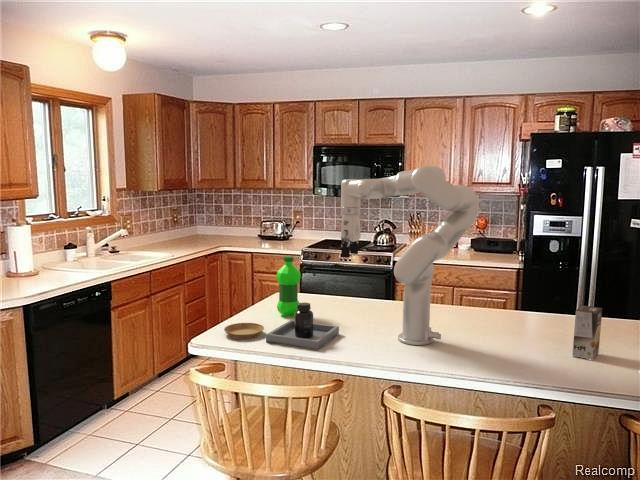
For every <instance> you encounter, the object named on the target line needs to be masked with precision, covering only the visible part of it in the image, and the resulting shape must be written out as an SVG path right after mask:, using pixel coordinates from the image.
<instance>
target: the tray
mask: <svg viewBox="0 0 640 480" xmlns="http://www.w3.org/2000/svg"><path fill="white" fill-rule="evenodd" d="M339 328H340V326H338V325H332V324H331V325H330V324H325V323H316V322H313V336H312V337H310V338H298V337H296V336H295V319H294V320H292V319H290V320H289V321H286V322H285V323H283V324H281V325H280V326H279V327H277V328H274V329H273V330H271V331H269V332H268V333H266V334H265V342H266V343H267V344H273V345H281V346H287V347H293V348H300V349H306V350H313V351H319V350H320V349H321V348H322V347H324V346H325V345H327V344H328V343H330V342H331V341H332V340H333V339H334V338H336V337H337V336H338V335H339V334H340V333H339V332H340V331H339V330H340V329H339Z"/></svg>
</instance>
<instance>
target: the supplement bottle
mask: <svg viewBox="0 0 640 480" xmlns="http://www.w3.org/2000/svg"><path fill="white" fill-rule="evenodd" d="M297 309H298V310H297V311H296V312H295V315H294V321H295V336H296V337H298V338H310V337H312V336H313V323H314V312H313V311H312V310H311V303H310V302H299V303H298V304H297Z"/></svg>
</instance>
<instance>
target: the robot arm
mask: <svg viewBox="0 0 640 480" xmlns="http://www.w3.org/2000/svg"><path fill="white" fill-rule="evenodd" d="M446 177H447V176H446V172H445V171H444V170H443V169H442V168H441V167H439V166H436V165H435V166H434V165H422V166H419V167H417V168H414V169H409V170H403V171H400V172H397V174H396V175H393V176H387V177H381V178H380V177H379V178H364V179H363V178H362V179H358V178H357V179H354V178H352V179H351V178H350V179H349V178H347V179H343V180H341V183H340V184H341V185H340V188H341V190H340V197H341V198H340V216H341V227H340V228H341V229H340V240H341V241H340V243H341V245H340V247H341V249H340V250H341V251H340V252H341V254H340V256H341V258H347V259H349V258H350V256H351V255H358V254H359V241H360V239H361V218H360V217H361V201H362V200H376V199H384V198H391V197H396V196H406V195H413V194H421V195H423V196H424V197H425V198H427V199H428V200H429V201H431V202H432V203H433V204H434V205H435V206H437V207H438V208H440V209H441V210H444V211H446V212H450V213H449V214H448V215H447V216H446V217H444V218H443V220H442V221H441V222H440V223H439V224H438V225H437V227H435V228H434V230H433V231H432V232H430V233H425V234H422V235H420V236H419V237H417V238H416V239H414V240H413V242H412V243H411V244H410V245H409V246H408V247H407V249H406V250H405V251H404V253H402V255H401V256H400V257H399V258H398V260H397V261H396V262H395V265H394V267H393V275H394V277H395V279H396V280H397V282H399V283H400V284H402V285H404V289H403V300H402V301H403V302H402V303H403V304H402V307H403V308H402V332H401V333H399V334H398V336H397V340H398V341H399V342H401V343H404V344H406V345H410V346H411V345H412V346H425V345H426V346H427V345H430V344H432V343H433V342H434V339H435V340H441V339H442V334H441V333H440V332H438V331H433V330H432V327H430V320H431V319H430V318H431V317H430V316H431V299H432V297H431V296H432V295H431V293H432V285H433V284H432V283H433V278H434V271H435V269H434V268H435V267H434V262H436V261H439V260H442V259H444V258H445V257H447V255H448V254H449V252H450V251H451V250H452V249H453V248H454V247H455V245H456V244H457V243H458V242H459V241H460V240H461V239H462V238H463V236H464V235H465V234H466V233H467V231H468V230H469V229H470V228H471V227H472V225H473V224H474V223H475V221H476V219H477V217H478V214H479V208H480V205H479V204H480V202H479V199H478V196H477V193H476V192H475V191H474V189H472V188H471V187H470V186H467V185H464V184H452V183H450V182H449V181H447V180H446V179H447V178H446ZM350 254H351V255H350Z"/></svg>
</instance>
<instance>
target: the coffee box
mask: <svg viewBox="0 0 640 480" xmlns="http://www.w3.org/2000/svg"><path fill="white" fill-rule="evenodd" d="M602 316H603V307H597V306H591V305H590V306H589V305H582V306H579V307H578V308H576V309H575V317H574V318H575V320H574V330H573V340H572V341H573V343H572V355H573V356H577V357H581V358H580V359H582V358H586V359H591V360H590V361H594V359H595V358H596V357H597V356H598V355H599V354H598V353H600V352H599V351H600V341H601V329H602V318H603V317H602ZM597 354H598V355H597ZM572 355H571V356H572ZM596 355H597V356H596ZM573 356H572V357H573ZM595 356H596V357H595ZM577 357H576V358H577ZM586 359H585V360H586Z"/></svg>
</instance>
